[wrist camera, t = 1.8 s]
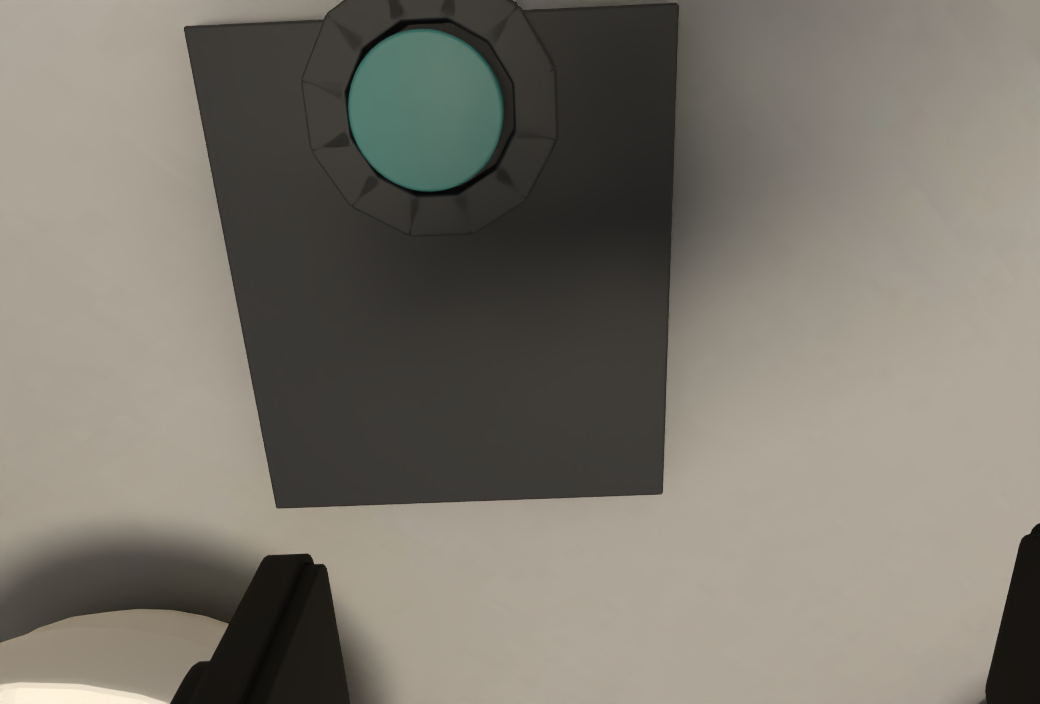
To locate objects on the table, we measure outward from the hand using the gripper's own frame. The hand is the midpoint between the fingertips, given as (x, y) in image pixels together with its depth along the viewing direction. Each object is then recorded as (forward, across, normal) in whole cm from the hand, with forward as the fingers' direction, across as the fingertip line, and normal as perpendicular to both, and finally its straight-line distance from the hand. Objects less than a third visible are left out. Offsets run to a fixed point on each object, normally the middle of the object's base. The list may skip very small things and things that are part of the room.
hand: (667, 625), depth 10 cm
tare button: (+13, +4, -6) cm, 15 cm away
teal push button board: (+16, +4, -1) cm, 17 cm away
